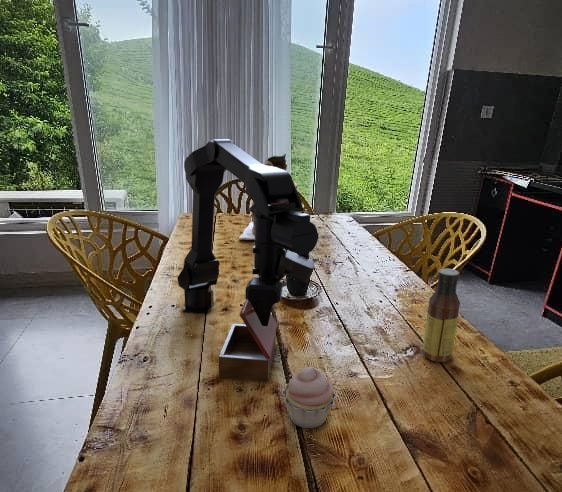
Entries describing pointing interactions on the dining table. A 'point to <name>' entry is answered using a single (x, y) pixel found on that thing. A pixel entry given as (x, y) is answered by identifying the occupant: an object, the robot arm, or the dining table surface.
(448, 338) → the sauce bottle
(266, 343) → the cover
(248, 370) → the hinged lid chest
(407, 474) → the dining table surface
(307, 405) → the cupcake
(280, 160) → the cookie jar
